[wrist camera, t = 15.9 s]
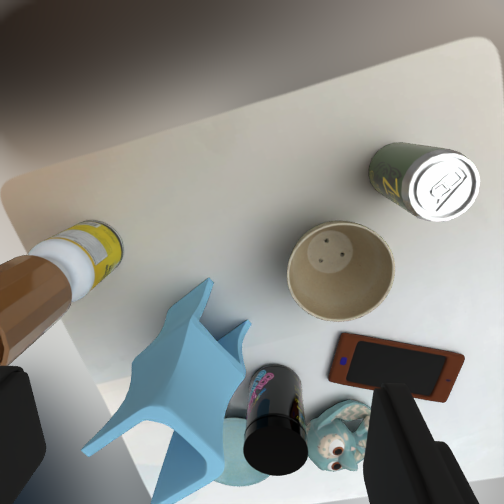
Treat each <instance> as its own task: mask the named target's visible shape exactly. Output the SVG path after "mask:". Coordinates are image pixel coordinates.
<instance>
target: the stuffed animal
mask: <svg viewBox="0 0 504 504" xmlns="http://www.w3.org/2000/svg"><path fill="white" fill-rule="evenodd" d="M370 413H371V408H370V407H368V406H367V405H365V404H363V403H362V402H358V401H354V400H350V399H349V400H346V401H344V402H340V403H337V404H336V405H334V406H333V407H331V408H329V409H327V410H326V411H325V412H324V413H323V414H321V415H320V416H319V418H316V419H313V420H311V421H310V422H309V424H308V425H307V426H306V434H307V443H308V456H309V458H310V459H311V460H312V461H313V462H314V464H315V465H316V466H317V467H318V468H319V469H321V470H327V471H333V472H334V471H338V470H342V469H348V470H350V471H357V469H358V464H357V463H359V462H361V461H362V460H363V459H364V455H365V448H366V441H367V434H368V427H369V420H370ZM362 418H364V419H363V421H362V422H361V424H360V426H359V427H358V429H357V430H356V431H354V432H351V431H350V430H349V429H348V428H347V427H346V425H345V424H344V423H343V422H342V421H341V420H344V421H351V420H357V419H362ZM340 419H341V420H340Z"/></svg>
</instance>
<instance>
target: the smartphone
mask: <svg viewBox="0 0 504 504" xmlns="http://www.w3.org/2000/svg"><path fill="white" fill-rule="evenodd" d="M464 360H465V357H464V355H462V354H458V353H454V352H449V351H444V350H438V349H433V348H428V347H422V346H417V345H411V344H406V343H400V342H395V341H389V340H384V339H379V338H373V337H368V336H362V335H357V334H350V333H342V334H341V336H340V339H339V342H338V346H337V349H336V352H335V356H334V359H333V363H332V366H331V369H330V373H329V376H328V380H329V381H330V382H334V383H338V384H342V385H348V386H353V387H358V388H364V389H369V390H374V389H375V388H381V385H382V383H400V384H406V385H407V386H408V388H409V390H410V392H411V394H412V396H413V398H418V399H424V400H429V401H435V402H442V403H444V402H446V401H447V399H448V397H449V394H450V392H451V390H452V388H453V385H454V383H455V381H456V379H457V376H458V374H459V372H460V370H461V367H462V365H463V363H464Z"/></svg>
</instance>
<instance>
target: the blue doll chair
mask: <svg viewBox="0 0 504 504" xmlns="http://www.w3.org/2000/svg"><path fill="white" fill-rule="evenodd" d="M213 284H214V283H213V281H212V280H211V279H210V278H208V279H206V280H205V281H204V282H202V283H201V284H200V285H199V286H197V287H196V288H195V289H193V290H192V291H191V292H190V293H188V294H187V295H186V296H184V297H183V298H182V299H181V300H179V301H178V302H177V303H175V304H174V305H173V306H172V307H171V308H170V309H169V310H168V312H167V316H166V320H165V323H164V326H163V328H162V330H161V332H160V334H159V335H158V336H157V337H156V339H155V340H154V341H153V342H152V343H151V344H150V345H149V346H148V347H147V348H146V349H145V350H144V351H142V352H141V353H140V354H139V355H138V356H137V357H135V359H134V361H133V362H132V376H131V383H130V387H129V391H128V393H127V395H126V398H125V400H124V401H123V403H122V404H121V406H120V407H119V409H118V410H117V412H116V413H115V414H114V415H113V416H112V418H111V419H110V420H109V421H108V422H107V423H106V425H105V426H104V427H103V428H102V429H101V430H100V431H99V432H98V433H97V434H96V435H95V436H94V437H93V438H92V439H91V440H90V441H89V442H88V443H87V444H86V445H85V446H84V447H83V448H82V449H81V451H82V452H83V453H85V454H86V455H87V456H88V457H90V456H91V455H93V454H94V453H96V452H97V451H99V450H100V449H102V448H103V447H105V446H106V445H107V444H109V443H110V442H112V441H113V440H115V439H116V438H118V437H119V436H121V435H122V434H124V433H125V432H127V431H128V430H130V429H131V428H132V427H134V426H135V425H137V424H138V423H140V422H142V421H145V420H149V421H154V422H159V423H163V424H165V425H167V426H169V427H171V428H172V429H174V432H173V435H172V438H171V441H170V444H169V447H168V450H167V453H166V456H165V459H164V462H163V466H162V469H161V472H160V475H159V478H158V481H157V484H156V488H155V491H154V494H153V497H152V501H151V504H174V503H176V502H178V501H179V500H181V499H183V498H185V497H186V496H188V495H190V494H192V493H193V492H195V491H197V490H199V489H200V488H202V487H204V486H205V485H207V484H209V483H211V482H212V481H214V480H215V479H217V478H218V477H219V476H220V475H221V474H222V473H223V471H224V467H225V460H224V450H223V422H224V416H225V411H226V409H227V406H228V403H229V401H230V399H231V397H232V395H233V394H234V392H235V391H236V389H237V388H238V386H239V385H240V383H241V382H242V381H243V379H244V378H245V375H246V369H245V365H244V361H243V356H242V343H243V339H244V336H245V334H246V332H247V331H248V329H249V327H250V326H251V323H250V322H249V321H248V320H246V321H245V322H243V323H242V324H241V325H239V326H238V327H236V328H235V329H234V330H232V331H231V332H229V333H228V334H227V335H225V336H224V337H222V338H221V339H219V340H218V341H216V340H215V339H214V337H213V336H212V335H211V334H210V333H209V332H208V330H207V329H206V328H205V327H204V326H203V325H202V324H201V323H200V322H199V320H200V318H201V316H202V313H203V311H204V309H205V306H206V304H207V301H208V298H209V295H210V293H211V290H212V287H213Z"/></svg>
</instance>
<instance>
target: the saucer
mask: <svg viewBox="0 0 504 504" xmlns="http://www.w3.org/2000/svg"><path fill="white" fill-rule="evenodd" d="M245 428H246V419H243V418H224V422H223V450H224V460H225V467H224V471H223V473H222V474H221V475H220V476H219V477H218V478H217V479H215V480H214V481H216V482H219V483H221V484H225V485H229V486H249V485H253V484H256V483H259V482H261V481H263V480H265V479H266V478H267V477H269V476H270V475H267V474H264V473H261V472H259V471H257V470H255V469H254V468H253V467H251V466H250V465H249V464H248V462H247V461H246V459H245V457H244V454H243V444H244V433H245Z"/></svg>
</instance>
